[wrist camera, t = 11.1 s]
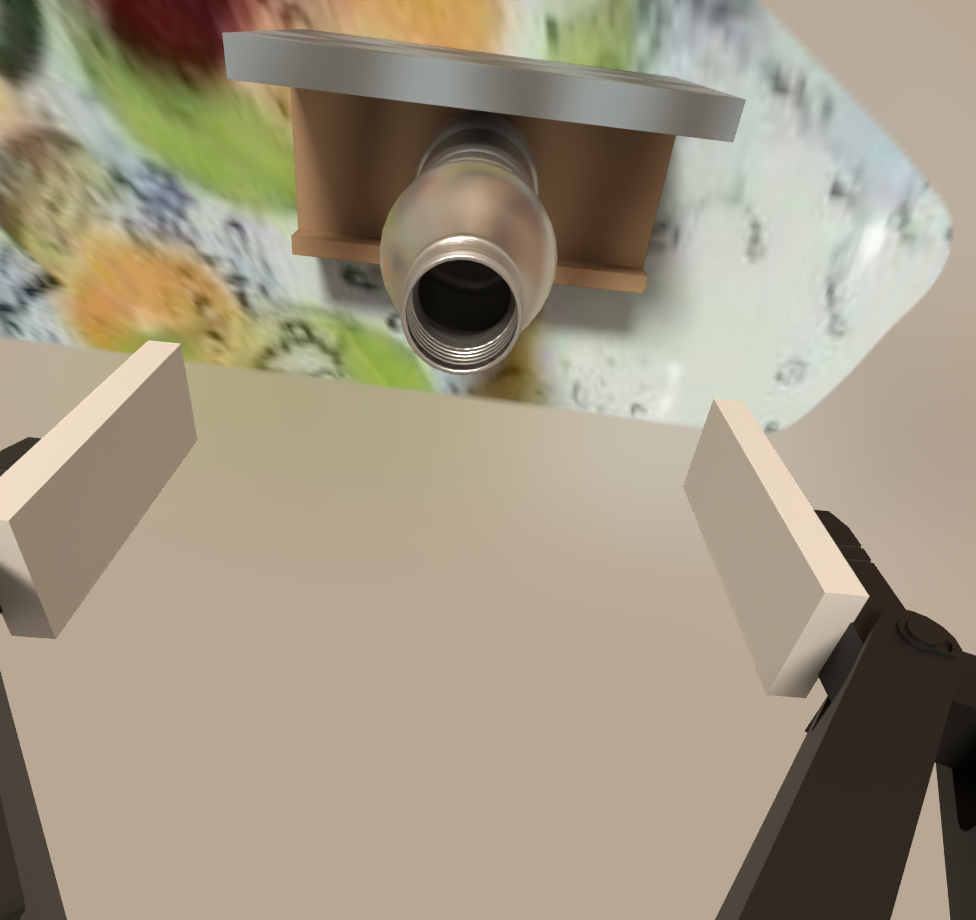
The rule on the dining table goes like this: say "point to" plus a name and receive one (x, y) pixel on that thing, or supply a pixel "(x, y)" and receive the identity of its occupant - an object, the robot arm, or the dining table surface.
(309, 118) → the brown wooden box
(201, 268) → the dining table surface
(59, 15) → the dining table surface
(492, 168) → the silver metal bottle
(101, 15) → the dining table surface
